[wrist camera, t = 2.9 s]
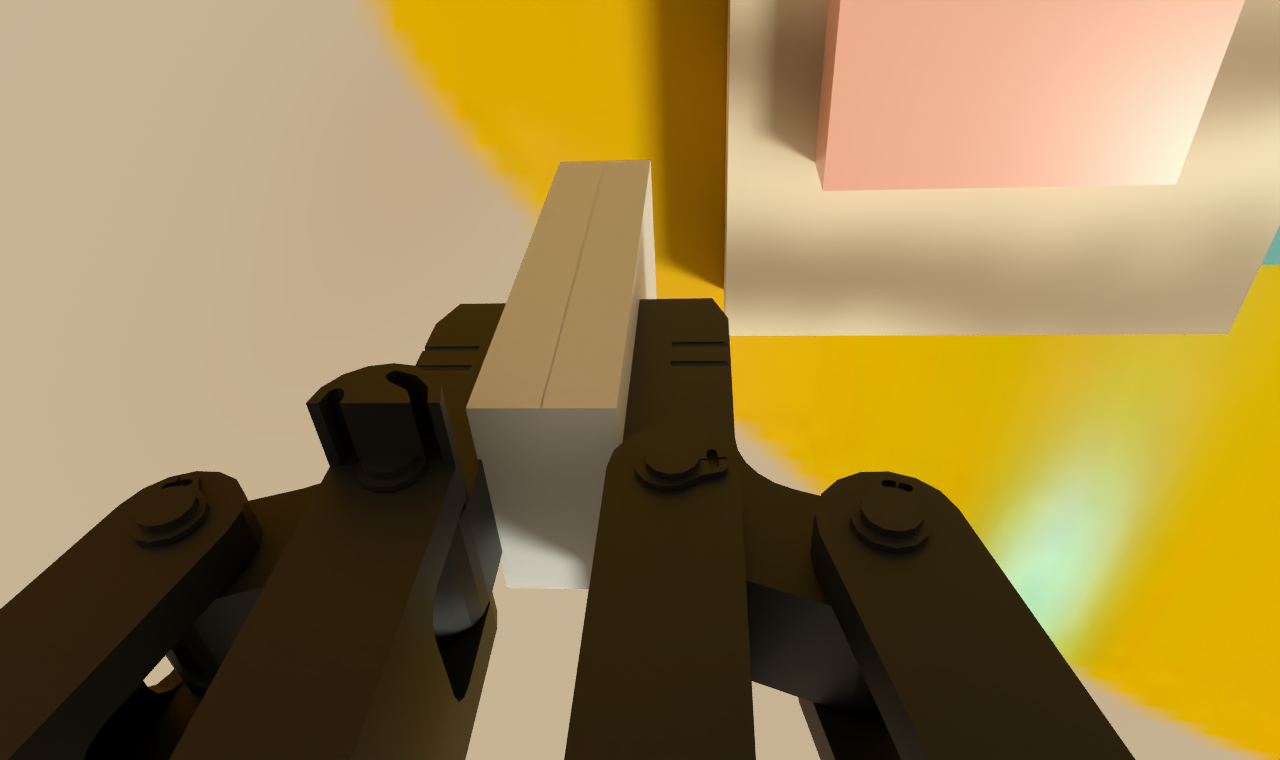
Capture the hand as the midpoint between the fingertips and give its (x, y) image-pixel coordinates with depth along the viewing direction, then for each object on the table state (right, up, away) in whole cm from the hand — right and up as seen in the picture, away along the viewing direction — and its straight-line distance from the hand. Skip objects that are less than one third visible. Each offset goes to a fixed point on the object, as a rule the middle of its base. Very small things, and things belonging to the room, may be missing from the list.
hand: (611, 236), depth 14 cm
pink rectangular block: (+10, +6, +7) cm, 14 cm away
